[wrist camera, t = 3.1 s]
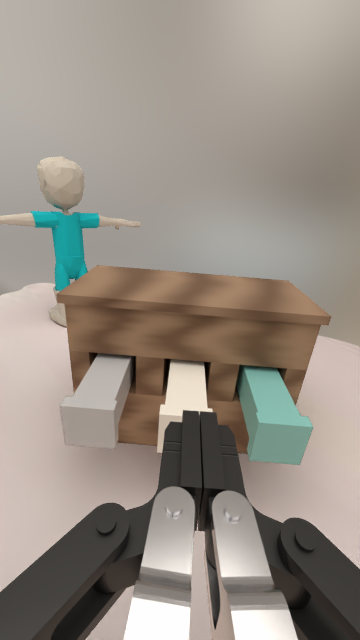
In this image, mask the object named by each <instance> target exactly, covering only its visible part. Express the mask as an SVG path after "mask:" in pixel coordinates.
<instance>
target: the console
mask: <svg viewBox="0 0 360 640" xmlns="http://www.w3.org/2000/svg"><path fill="white" fill-rule="evenodd" d="M56 295H57V303H63V304H64V305H65V314H66V323H67V333H68V342H69V351H70V360H71V370H72V379H73V388H74V393H75V391H76V390H77V388H78V386H79V385H80V383H81V381H82V380H83V378H84V376H85V375H86V373H87V371H88V370H89V368H90V366H91V365H92V363H93V362H94V360H95V358H96V357H97V355H98V353H106V354H119V355H131V356H134V377H133V380H132V383H131V386H130V389H129V392H128V395H127V399H126V402H125V405H124V408H123V411H122V414H121V417H120V420H119V423H118V441H117V442H121V443H133V444H145V445H157V446H158V429H159V413H160V406H161V404H163V405H165V401H166V393H167V385H168V377H169V369H170V362H171V359H179V360H191V361H203V362H204V369H205V382H206V395H207V407H208V408H211V409H212V410H213V412H216V414H217V421H218V425H228V426H229V428H230V429H231V431H232V432H233V434H234V436H235V441H236V448H237V452H240V453H248V452H247V447H248V443H249V435H248V431H247V427H246V423H245V419H244V415H243V411H242V407H241V402H240V398H239V394H238V390H237V386H236V384H237V379H238V374H239V368H240V365H251V366H263V367H275V368H277V370H278V372H279V374H280V376H281V378H282V380H283V382H284V384H285V386H286V388H287V390H288V392H289V394H290V396H291V398H292V400H293V402H294V404H295V405H296V402H297V399H298V396H299V393H300V390H301V386H302V383H303V380H304V377H305V374H306V371H307V367H308V364H309V361H310V358H311V355H312V352H313V348H314V345H315V342H316V339H317V336H318V333H319V329H320V326H321V325H329V322H330V319H331V316H330V315H329V314H327V313H326V312H325V311H324V310H323V309H321V308H320V307H319V306H318V305H317V304H315V303H314V302H313V301H312V300H311V299H310V298H308V297H307V296H306V295H304V293H302V292H301V291H300V290H299V289H298V288H296V287H295V286H294V285H293V284H292V283H290V282H289V281H284V280H271V279H260V278H248V277H235V276H223V275H211V274H199V273H187V272H174V271H161V270H150V269H138V268H125V267H113V266H99V265H97V266H96V267H95V268H93V269H91V270H90V271H89V272H87V273H86V274H84V275H83V276H81V277H80V278H79V279H77V280H76V281H74V282H73V283H71V284H70V285H69V286H67V287H66V288H64V289H63V290H61V291H60V292H59V293H57V294H56Z"/></svg>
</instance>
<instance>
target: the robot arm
mask: <svg viewBox="0 0 360 640" xmlns="http://www.w3.org/2000/svg"><path fill="white" fill-rule="evenodd" d="M197 522H198V531H205V551H204V563H205V573H206V583H207V593H208V603H209V613H210V623H211V637H212V640H360V569H359V568H358V567H357V566H356V565H355V564H354V563H353V562H351V561H350V560H349V559H348V558H347V557H346V556H345V555H344V554H343V553H342V552H341V551H340V550H339V549H338V548H337V547H336V546H335V545H334V544H333V543H332V542H331V541H330V540H328V539H327V538H326V537H325V536H324V535H323V534H322V533H321V532H320V531H319V530H318V529H317V528H316V527H315V526H314V525H312V524H311V523H309V522H308V521H306V520H304V519H301V518H290V519H287V520H286V521H285V522H284V523H281V522H279V521H276V520H274V519H272V518H269V517H267V516H265V515H263V514H261V513H260V512H258V511H257V510H256V509H255V508H254V507H253V506H252V505H251V503H250V502H249V500H248V499H247V496H246V493H245V489H244V484H243V478H242V473H241V468H240V463H239V457H238V452H237V448H236V441H235V436H234V434H233V432H232V431H231V429H230V428H229V426H228V425H218V421H217V414H216V412H205V411H200V414H199V411H190V410H183V415H182V422H172V421H170V423H169V425H168V426H167V428H166V429H165V433H164V442H163V451H162V459H161V468H160V477H159V485H158V489H157V492H156V494H155V495H154V497H153V498H152V499H151V500H150V501H149V502H148V503H146V504H144V505H143V506H140V507H137V508H133V509H129V510H125V509H124V508H123V507H122V506H121V505H119V504H116V503H106V504H102V505H100V506H98V507H97V508H95V509H94V510H93V511H92V512H91V513H89V514H88V515H87V516H86V517H85V518H84V519H83V520H81V521H80V522H79V523H78V524H77V525H76V526H75V527H74V528H72V529H71V530H70V531H69V532H68V533H67V534H66V535H64V536H63V537H62V538H61V539H60V540H59V541H58V542H57V543H55V544H54V545H53V546H52V547H51V548H50V549H49V550H48V551H46V552H45V553H44V554H43V555H42V556H41V557H40V558H38V559H37V560H36V561H35V562H34V563H33V564H32V565H31V566H29V567H28V568H27V569H26V570H25V571H24V572H23V573H21V574H20V575H19V576H18V577H17V578H16V579H15V580H14V581H12V582H11V583H10V584H9V585H8V586H7V587H6V588H5V589H3V590H2V591H1V592H0V640H85V639H86V638H87V637H88V635H89V634H90V633H91V632H92V630H93V629H94V628H95V627H96V625H97V624H98V623H99V622H100V620H101V619H102V618H103V617H104V615H105V614H106V613H107V612H108V610H109V609H110V608H111V607H112V605H113V604H114V603H115V602H116V600H117V599H118V598H119V597H120V595H121V594H122V593H123V592H124V590H125V589H126V588H127V587H130V586H132V585H135V587H134V592H133V596H132V601H131V606H130V611H129V616H128V621H127V626H126V630H125V635H124V640H189V624H190V606H191V570H192V553H193V538H194V531H196V529H197Z"/></svg>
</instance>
